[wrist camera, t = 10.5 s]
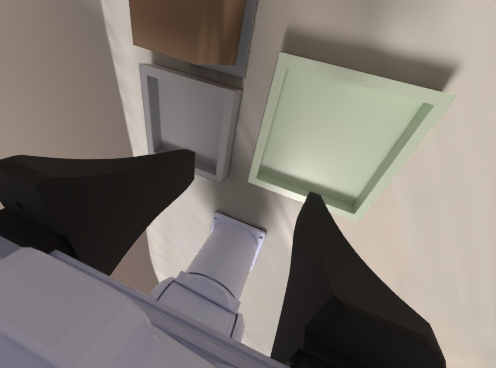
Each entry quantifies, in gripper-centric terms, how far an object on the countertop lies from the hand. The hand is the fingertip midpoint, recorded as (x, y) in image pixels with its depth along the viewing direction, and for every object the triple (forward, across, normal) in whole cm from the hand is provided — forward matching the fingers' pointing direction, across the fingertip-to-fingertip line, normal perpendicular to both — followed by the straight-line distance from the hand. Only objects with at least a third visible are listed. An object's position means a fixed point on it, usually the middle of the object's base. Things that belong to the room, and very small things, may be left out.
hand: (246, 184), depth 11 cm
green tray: (+10, -4, -1) cm, 11 cm away
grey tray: (+10, +10, +2) cm, 14 cm away
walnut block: (+9, +7, -8) cm, 14 cm away
